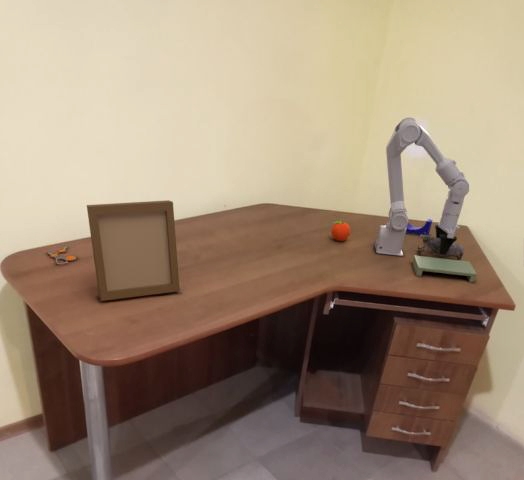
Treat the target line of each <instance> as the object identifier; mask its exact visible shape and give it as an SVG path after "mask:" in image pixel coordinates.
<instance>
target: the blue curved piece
mask: <svg viewBox="0 0 524 480" xmlns="http://www.w3.org/2000/svg"><path fill="white" fill-rule="evenodd" d="M432 224H433V219H430V218H428V219H427V220H426V221H425V223H424V225H423V226H420V227H416V226H413V225H412V224H411V223H410V222H409V223H408V225H407V229H406V233H405V234H410V235H411V234H414V235H419V236H420V235H421V234H422V235H426V236H427V235H428V236H430V232H431V229H432Z"/></svg>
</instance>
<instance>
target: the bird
mask: <svg viewBox="0 0 524 480" xmlns="http://www.w3.org/2000/svg"><path fill="white" fill-rule="evenodd" d="M419 236H420V239H422V245H423V246H422V247H420V246H419V245H417V250H418V251H417V252H418V254H419V255H421V253H423V252H426V253H427V254H430V255H432V256H434V257H437V258H451V257H454V258H457V260H459V261H461V259H463V256H464V254H465V249H464V246H463V245H462V244H460V243H456V242H454V243H453V244H452V245H451V247H450V248H449V250H448V252H447V254H446V255H442V254H440V244H441V240H440V238H436V237H434V236H431V235H427V236H426V235H422V234H421V235H419ZM422 249H423V250H422Z"/></svg>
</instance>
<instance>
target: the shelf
mask: <svg viewBox="0 0 524 480" xmlns="http://www.w3.org/2000/svg"><path fill="white" fill-rule="evenodd" d="M411 264H412V267H413V270H414V273H415V276H417V277H422V275H423V272H430V273H439V274H447V275H457V276H466V278H467V280H468V283H469V282H470V283H475V280H476V278H477V274H478V273H477V272H476V270H475V269H474V267H473V265H472V264H471V262H470V261H467V260H458V259H449V258H442V257H432V256H422V255H415V254H414V255H413V260H412V262H411Z"/></svg>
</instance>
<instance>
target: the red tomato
mask: <svg viewBox="0 0 524 480" xmlns="http://www.w3.org/2000/svg"><path fill="white" fill-rule="evenodd" d="M333 224H334V225H333V226H332V227H331V236H332V237H333V239H334V240H335V241H340V242H344V241H346V240H347V239H348V238H349V237H350V235H351V227H350V225H349V224H348V223H347V222H346V221H340V220H339V221H334V222H333ZM330 226H331V225H329V226H328V227H330Z"/></svg>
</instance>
